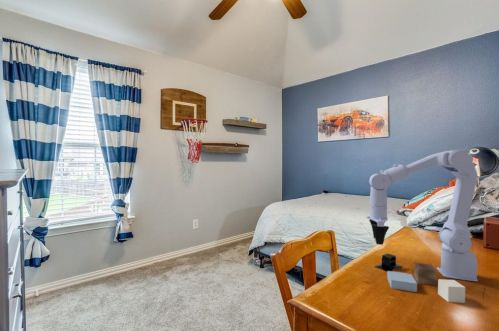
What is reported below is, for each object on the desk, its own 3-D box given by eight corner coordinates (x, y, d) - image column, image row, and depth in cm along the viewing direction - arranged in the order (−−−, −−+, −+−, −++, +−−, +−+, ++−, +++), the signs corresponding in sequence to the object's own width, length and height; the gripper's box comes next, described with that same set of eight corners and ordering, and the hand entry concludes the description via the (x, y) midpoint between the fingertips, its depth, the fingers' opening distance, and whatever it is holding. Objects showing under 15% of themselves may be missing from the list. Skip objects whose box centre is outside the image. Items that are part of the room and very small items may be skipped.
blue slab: (411, 282, 85) (411, 274, 85) (416, 293, 78) (417, 283, 78) (387, 279, 87) (387, 270, 87) (391, 289, 81) (391, 279, 81)
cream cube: (453, 294, 77) (454, 279, 77) (465, 303, 73) (465, 287, 73) (437, 294, 78) (438, 279, 77) (448, 302, 73) (448, 286, 73)
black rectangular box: (388, 276, 91) (388, 262, 91) (368, 268, 97) (368, 255, 97) (408, 267, 98) (408, 255, 98) (388, 261, 104) (388, 249, 104)
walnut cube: (431, 279, 87) (431, 264, 87) (436, 285, 83) (436, 270, 83) (414, 276, 89) (414, 262, 89) (418, 283, 84) (418, 268, 84)
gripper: (365, 201, 105) (365, 234, 105) (368, 208, 91) (368, 245, 92) (384, 202, 102) (384, 236, 103) (390, 209, 89) (390, 248, 89)
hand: (378, 241), depth 97 cm, fingers open, 7 cm apart
